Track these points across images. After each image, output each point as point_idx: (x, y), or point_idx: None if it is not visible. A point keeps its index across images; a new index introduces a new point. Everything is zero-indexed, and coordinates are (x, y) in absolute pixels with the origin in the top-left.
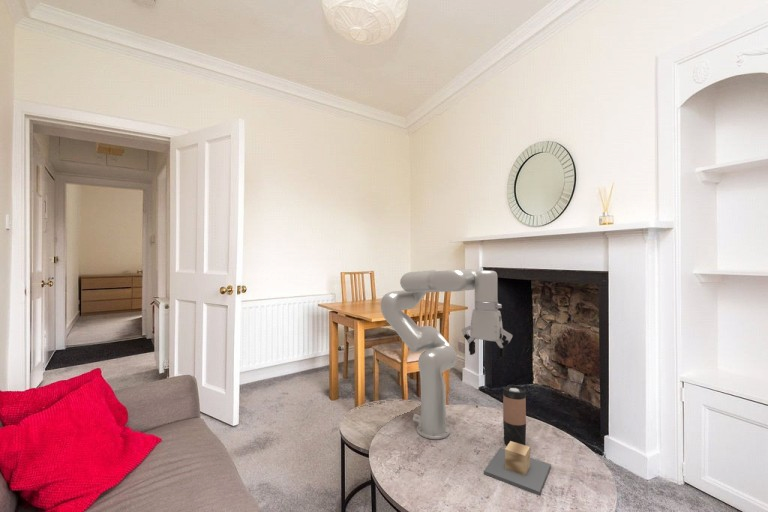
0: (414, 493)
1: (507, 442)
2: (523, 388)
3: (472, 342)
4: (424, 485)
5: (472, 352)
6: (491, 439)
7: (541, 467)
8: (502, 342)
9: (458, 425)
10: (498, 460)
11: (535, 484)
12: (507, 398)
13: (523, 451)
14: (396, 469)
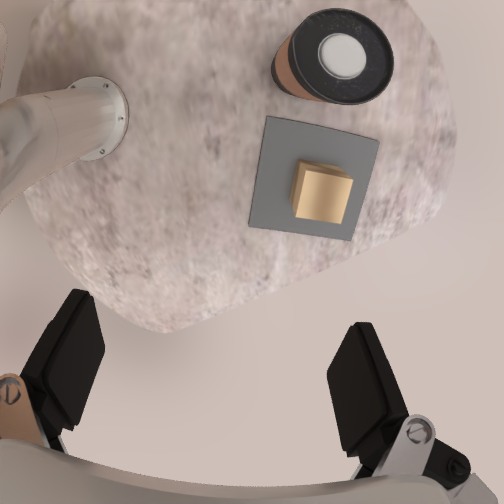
0: (164, 313)
1: (283, 90)
2: (384, 37)
3: (59, 420)
4: (167, 294)
5: (98, 355)
6: (236, 70)
7: (361, 162)
8: (410, 461)
9: (134, 47)
10: (271, 175)
11: (345, 224)
12: (310, 94)
13: (337, 208)
14: (109, 279)
